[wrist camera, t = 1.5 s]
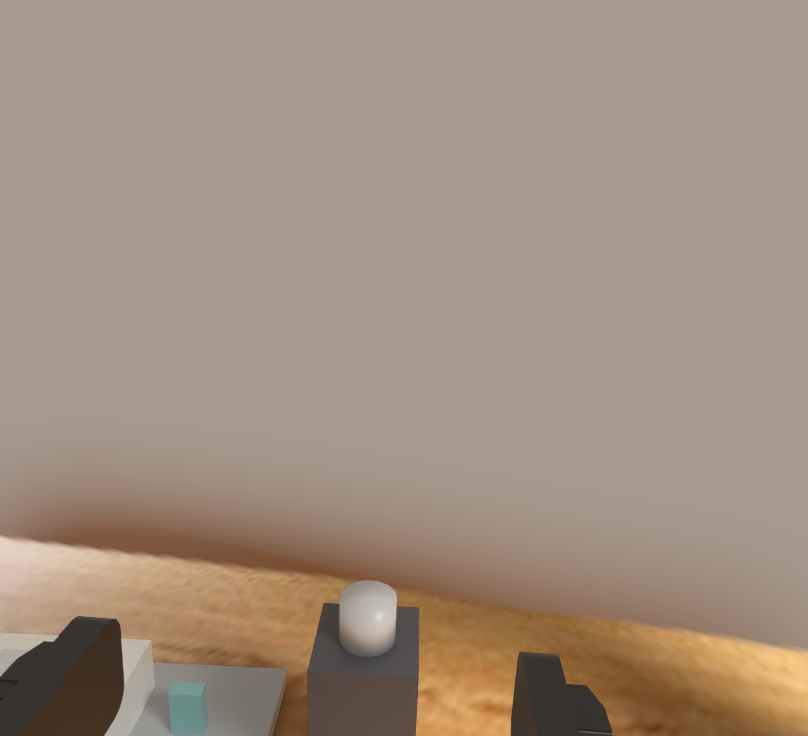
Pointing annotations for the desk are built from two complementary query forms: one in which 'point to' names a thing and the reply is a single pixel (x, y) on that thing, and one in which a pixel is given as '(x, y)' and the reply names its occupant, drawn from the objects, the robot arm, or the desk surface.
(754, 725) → the desk surface
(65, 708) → the robot arm
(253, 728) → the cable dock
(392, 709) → the cable plug
